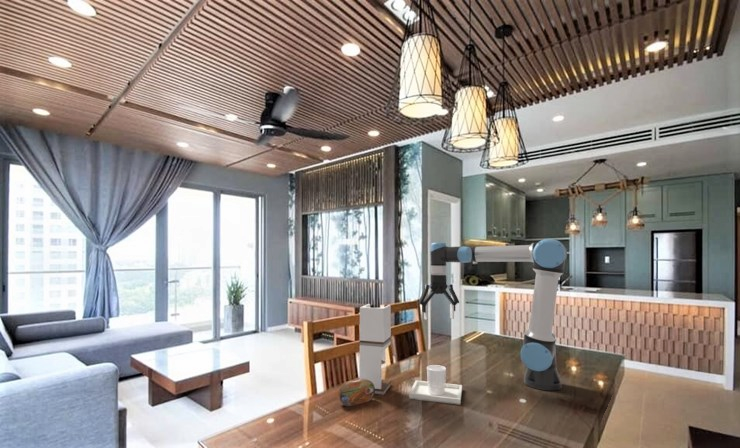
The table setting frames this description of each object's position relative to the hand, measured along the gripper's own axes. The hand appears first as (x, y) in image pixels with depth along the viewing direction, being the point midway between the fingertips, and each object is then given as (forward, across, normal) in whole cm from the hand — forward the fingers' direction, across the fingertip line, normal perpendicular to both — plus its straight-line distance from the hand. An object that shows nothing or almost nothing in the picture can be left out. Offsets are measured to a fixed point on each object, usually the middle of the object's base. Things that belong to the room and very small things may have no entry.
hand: (439, 318), depth 175 cm
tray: (+27, +11, +20) cm, 35 cm away
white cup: (+26, +11, +20) cm, 35 cm away
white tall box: (+27, +34, +8) cm, 44 cm away
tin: (+27, +45, +21) cm, 56 cm away
